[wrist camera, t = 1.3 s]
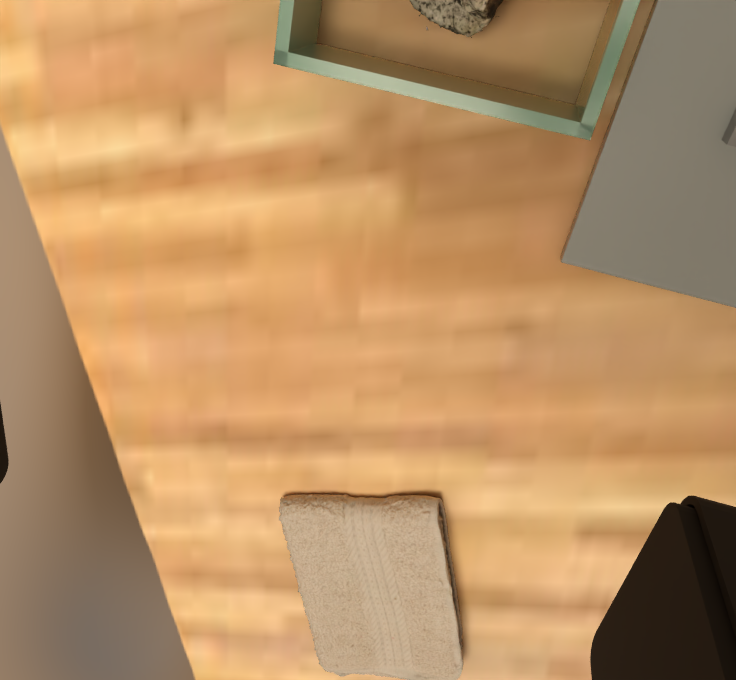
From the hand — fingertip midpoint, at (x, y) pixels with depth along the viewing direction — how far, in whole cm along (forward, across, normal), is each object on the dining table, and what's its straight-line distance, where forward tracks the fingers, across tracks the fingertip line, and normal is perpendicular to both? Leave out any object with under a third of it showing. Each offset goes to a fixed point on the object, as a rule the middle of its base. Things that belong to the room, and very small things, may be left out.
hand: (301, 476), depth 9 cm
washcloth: (+28, -2, +34) cm, 44 cm away
